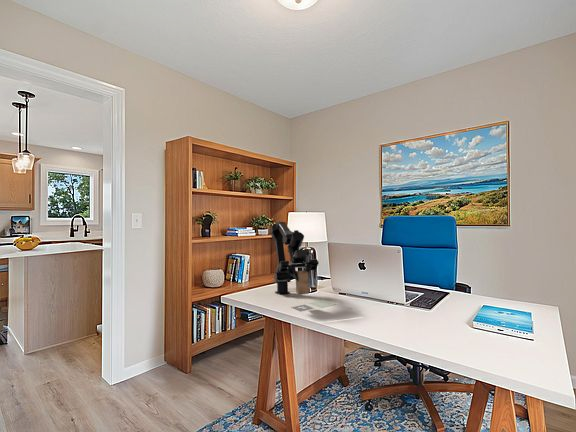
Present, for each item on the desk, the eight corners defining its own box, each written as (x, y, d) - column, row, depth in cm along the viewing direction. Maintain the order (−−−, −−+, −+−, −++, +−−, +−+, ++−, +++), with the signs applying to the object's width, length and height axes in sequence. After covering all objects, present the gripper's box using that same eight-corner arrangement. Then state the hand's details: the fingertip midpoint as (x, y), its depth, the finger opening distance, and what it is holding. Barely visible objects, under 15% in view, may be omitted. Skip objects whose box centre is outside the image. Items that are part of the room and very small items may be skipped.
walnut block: (296, 292, 146) (295, 271, 146) (305, 291, 148) (304, 270, 148) (299, 294, 142) (298, 272, 142) (308, 293, 143) (308, 272, 143)
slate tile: (290, 308, 146) (290, 307, 146) (304, 305, 150) (304, 304, 150) (300, 312, 139) (300, 311, 139) (314, 309, 144) (314, 308, 144)
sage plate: (308, 303, 153) (308, 302, 153) (324, 300, 158) (324, 299, 158) (321, 308, 144) (321, 307, 144) (337, 305, 150) (337, 304, 150)
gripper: (279, 244, 146) (287, 271, 135) (316, 242, 151) (326, 268, 141) (275, 258, 153) (282, 285, 143) (311, 256, 159) (320, 282, 148)
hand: (303, 280), depth 144 cm, fingers closed on walnut block, 5 cm apart
